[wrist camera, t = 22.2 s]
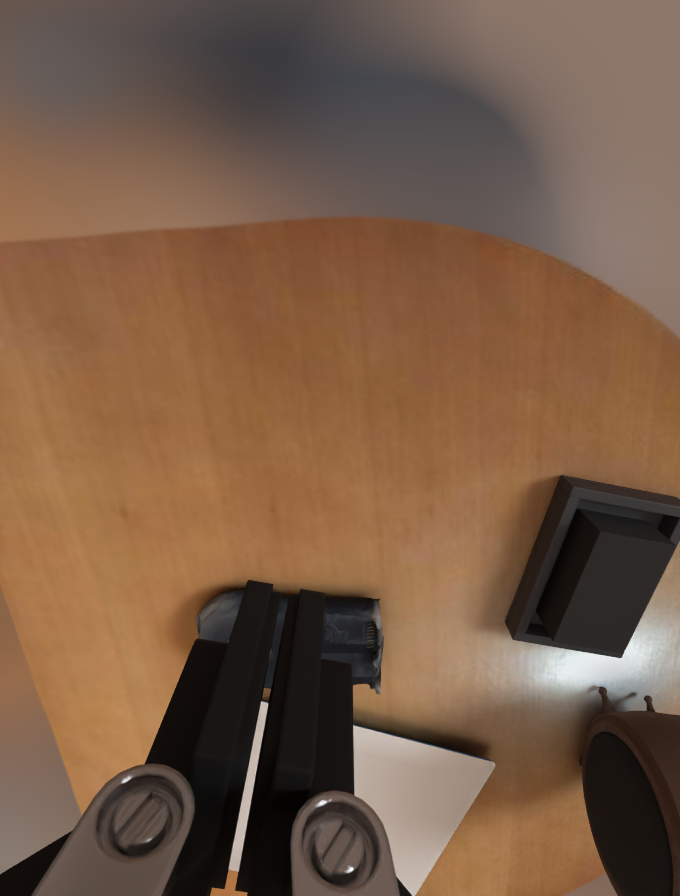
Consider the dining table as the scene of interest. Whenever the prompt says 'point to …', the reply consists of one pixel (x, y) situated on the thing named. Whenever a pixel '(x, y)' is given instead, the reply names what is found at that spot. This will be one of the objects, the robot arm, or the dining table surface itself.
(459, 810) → the plate
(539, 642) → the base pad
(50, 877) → the robot arm
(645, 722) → the alarm clock
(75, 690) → the dining table surface
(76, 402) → the dining table surface
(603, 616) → the black rectangular block
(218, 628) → the electronic device
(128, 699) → the dining table surface
